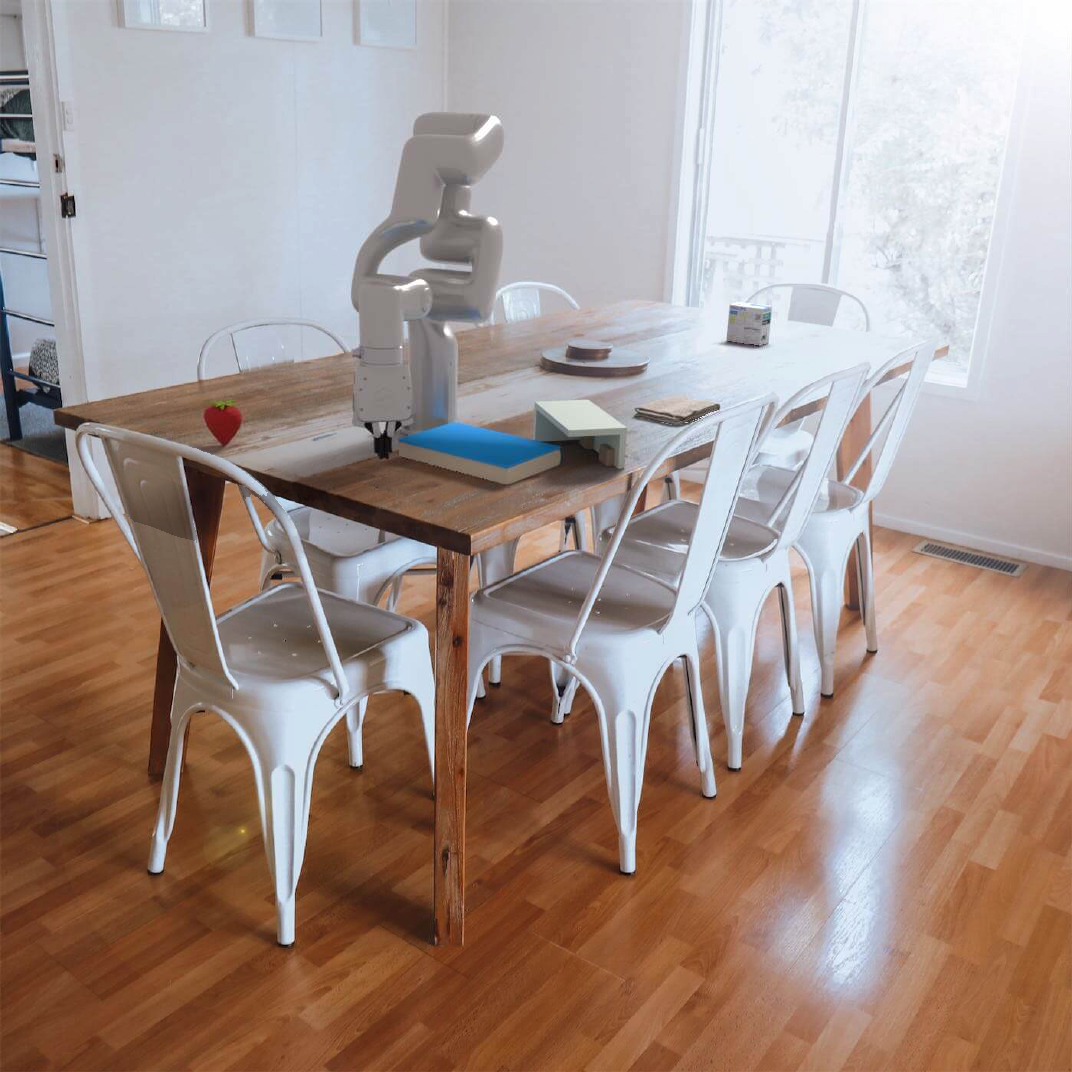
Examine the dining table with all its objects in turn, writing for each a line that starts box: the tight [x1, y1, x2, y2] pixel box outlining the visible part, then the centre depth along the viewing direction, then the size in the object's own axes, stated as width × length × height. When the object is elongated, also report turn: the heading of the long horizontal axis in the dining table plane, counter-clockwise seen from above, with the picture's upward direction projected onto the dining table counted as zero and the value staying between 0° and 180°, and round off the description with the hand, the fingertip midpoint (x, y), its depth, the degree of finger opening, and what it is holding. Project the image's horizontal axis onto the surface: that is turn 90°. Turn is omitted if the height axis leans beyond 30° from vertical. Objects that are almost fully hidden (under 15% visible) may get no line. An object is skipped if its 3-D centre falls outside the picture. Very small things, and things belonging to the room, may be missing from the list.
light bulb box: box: [726, 301, 773, 347], centre depth 323 cm, size 11×7×11 cm, turn 58°
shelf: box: [532, 399, 628, 470], centre depth 212 cm, size 11×21×8 cm, turn 17°
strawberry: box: [203, 391, 243, 446], centre depth 208 cm, size 6×8×10 cm
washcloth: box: [633, 395, 721, 426], centre depth 244 cm, size 12×18×3 cm, turn 143°
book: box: [397, 422, 563, 486], centre depth 206 cm, size 17×4×25 cm
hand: (383, 456), depth 202 cm, fingers closed
